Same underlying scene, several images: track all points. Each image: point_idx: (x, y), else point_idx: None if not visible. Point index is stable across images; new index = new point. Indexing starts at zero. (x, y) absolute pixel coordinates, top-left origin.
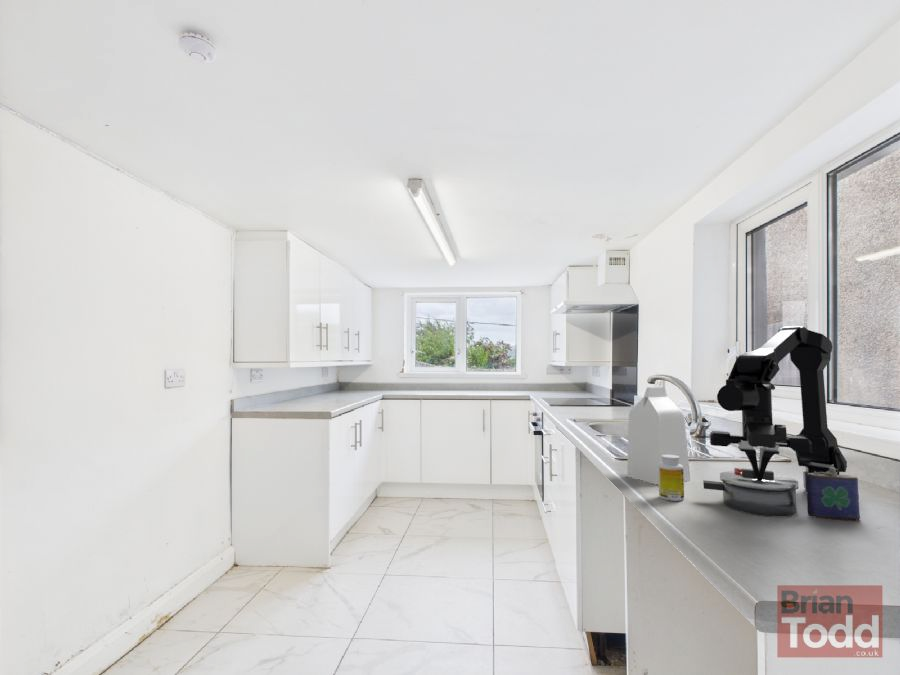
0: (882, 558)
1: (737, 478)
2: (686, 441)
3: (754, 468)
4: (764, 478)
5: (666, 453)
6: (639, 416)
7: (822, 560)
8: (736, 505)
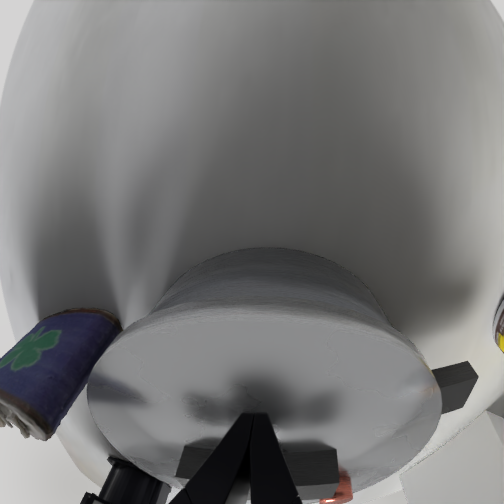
0: (29, 27)
1: (383, 405)
2: None
3: (281, 477)
4: None
5: (491, 488)
6: None
7: None
8: (364, 289)
